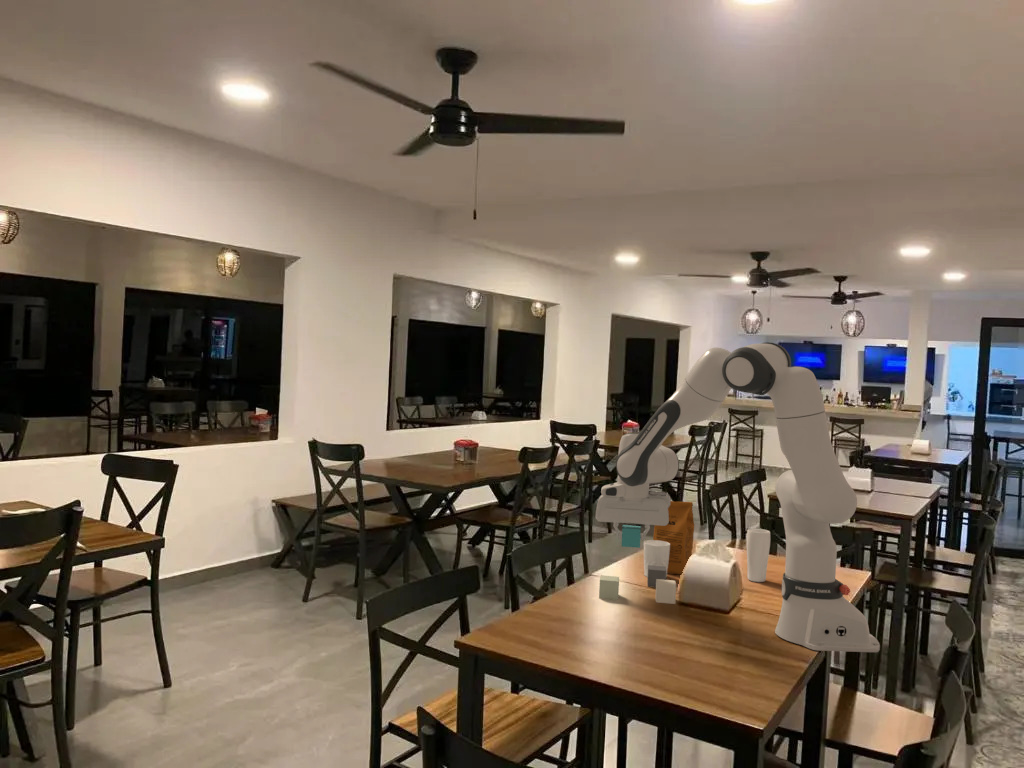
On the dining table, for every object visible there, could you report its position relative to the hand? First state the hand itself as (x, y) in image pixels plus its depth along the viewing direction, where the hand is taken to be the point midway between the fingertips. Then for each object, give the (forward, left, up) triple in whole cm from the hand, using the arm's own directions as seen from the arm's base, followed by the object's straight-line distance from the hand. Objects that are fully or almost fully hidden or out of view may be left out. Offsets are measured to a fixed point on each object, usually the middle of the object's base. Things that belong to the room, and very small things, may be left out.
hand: (631, 539), depth 212 cm
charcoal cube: (-8, -8, -14) cm, 18 cm away
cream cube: (-10, +7, -14) cm, 19 cm away
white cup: (-8, -18, -14) cm, 24 cm away
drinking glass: (-38, -23, -14) cm, 46 cm away
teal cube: (0, 0, -2) cm, 2 cm away
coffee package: (-13, -27, -14) cm, 33 cm away
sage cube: (+5, +8, -14) cm, 17 cm away
